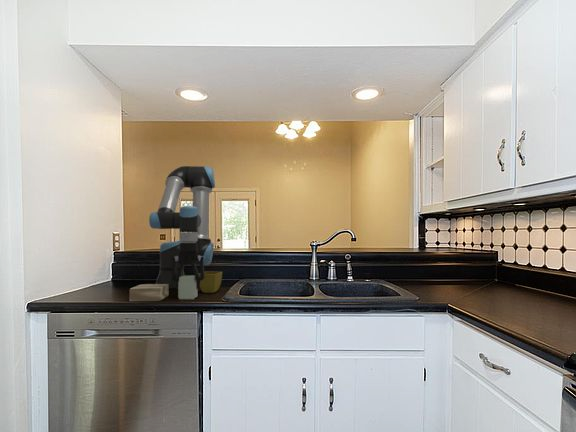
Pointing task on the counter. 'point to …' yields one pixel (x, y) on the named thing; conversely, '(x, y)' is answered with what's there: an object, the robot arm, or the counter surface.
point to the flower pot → (211, 282)
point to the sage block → (186, 287)
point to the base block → (149, 292)
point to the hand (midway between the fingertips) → (188, 296)
